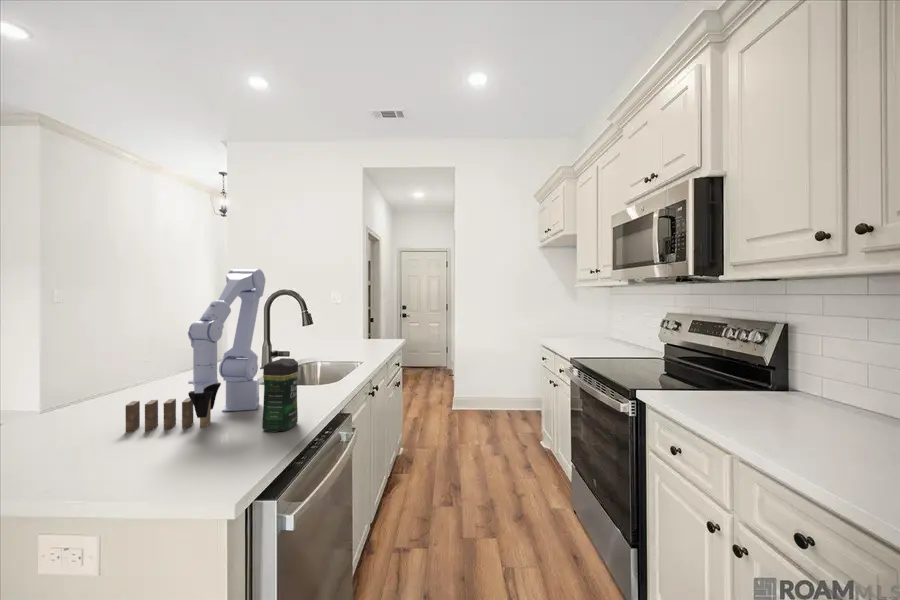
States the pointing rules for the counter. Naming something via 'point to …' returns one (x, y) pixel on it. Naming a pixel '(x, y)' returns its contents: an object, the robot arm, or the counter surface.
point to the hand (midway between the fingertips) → (205, 413)
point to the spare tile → (207, 419)
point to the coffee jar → (280, 395)
